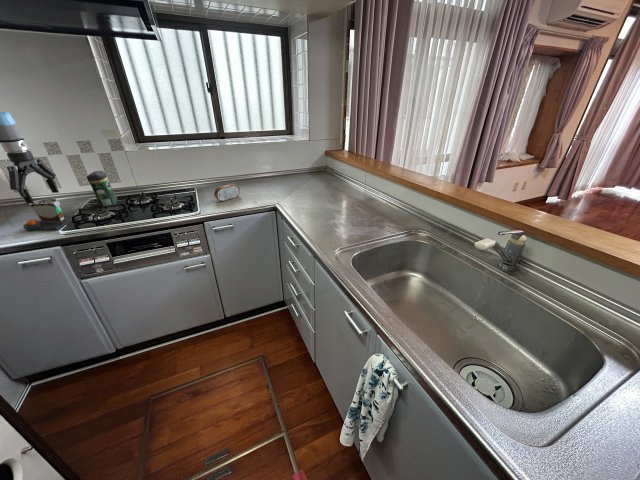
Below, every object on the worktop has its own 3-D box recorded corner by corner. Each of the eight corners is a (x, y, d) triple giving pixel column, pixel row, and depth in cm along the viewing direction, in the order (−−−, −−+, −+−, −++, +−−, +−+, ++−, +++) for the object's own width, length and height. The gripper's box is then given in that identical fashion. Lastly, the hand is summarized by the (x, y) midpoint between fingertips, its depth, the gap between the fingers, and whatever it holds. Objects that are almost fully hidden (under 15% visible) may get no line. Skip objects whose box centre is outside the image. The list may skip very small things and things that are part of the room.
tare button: (26, 225, 124) (23, 222, 123) (32, 222, 127) (30, 219, 126) (32, 225, 124) (30, 222, 123) (39, 222, 127) (37, 219, 126)
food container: (74, 216, 135) (64, 198, 130) (64, 222, 130) (54, 202, 125) (50, 216, 135) (39, 198, 130) (39, 222, 130) (27, 203, 125)
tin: (238, 195, 163) (236, 181, 158) (241, 196, 161) (239, 182, 156) (215, 202, 153) (212, 187, 149) (218, 203, 152) (215, 189, 147)
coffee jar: (104, 202, 156) (89, 170, 146) (119, 200, 158) (106, 169, 148) (97, 208, 148) (82, 175, 138) (114, 206, 150) (100, 173, 140)
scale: (23, 232, 124) (19, 226, 123) (50, 218, 137) (47, 213, 136) (55, 231, 124) (52, 225, 123) (80, 217, 137) (77, 212, 136)
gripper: (-3, 158, 105) (27, 207, 116) (51, 145, 126) (72, 188, 137) (-23, 158, 105) (9, 208, 115) (35, 145, 126) (57, 188, 137)
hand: (43, 197), depth 126 cm, fingers open, 13 cm apart
